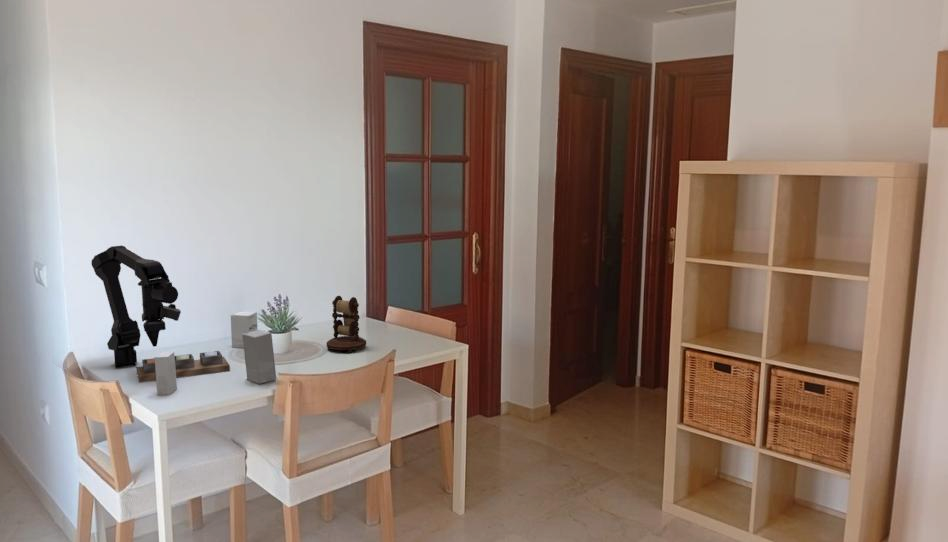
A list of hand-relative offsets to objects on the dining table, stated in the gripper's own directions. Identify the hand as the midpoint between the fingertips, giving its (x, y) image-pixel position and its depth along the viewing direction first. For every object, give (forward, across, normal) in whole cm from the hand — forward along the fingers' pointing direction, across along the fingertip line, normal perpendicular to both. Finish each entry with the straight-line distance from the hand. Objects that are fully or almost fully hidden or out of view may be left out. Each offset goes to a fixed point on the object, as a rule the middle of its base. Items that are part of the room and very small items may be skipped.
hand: (154, 346), depth 246 cm
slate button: (+7, -2, -17) cm, 19 cm away
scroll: (+9, +3, -66) cm, 67 cm away
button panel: (+9, -2, -8) cm, 13 cm away
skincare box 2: (+9, -23, -30) cm, 38 cm away
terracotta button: (+7, -2, +1) cm, 7 cm away
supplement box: (+10, +24, -33) cm, 42 cm away
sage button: (+7, -2, -8) cm, 11 cm away
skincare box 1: (+9, -22, -2) cm, 24 cm away
